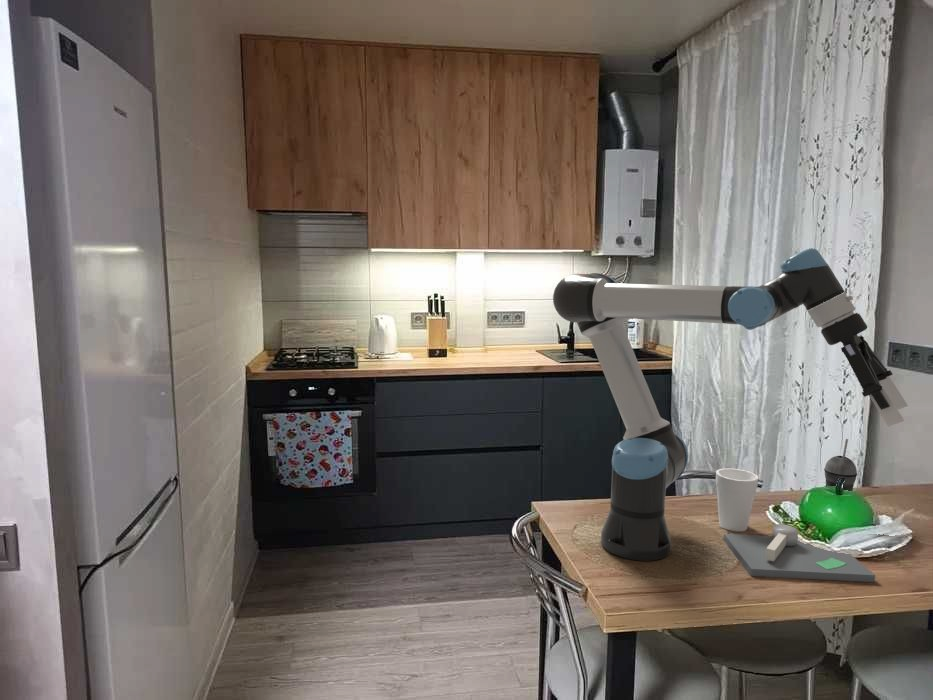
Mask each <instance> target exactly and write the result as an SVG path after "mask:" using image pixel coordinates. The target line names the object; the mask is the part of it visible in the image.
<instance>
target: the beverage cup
mask: <svg viewBox="0 0 933 700" xmlns="http://www.w3.org/2000/svg"><path fill="white" fill-rule="evenodd" d="M848 442H849V439H848V438H845V442H844V446H843V452H842V453H843V454H842V455H835V456H832V457H831V458H829V459H828V460H827V461H826V463H825V466H824V468H823V470H824V477H825V488H826V487H827V486H836V484H837V481H838V479H839V478H846V480H845V482H844V483H843V489H844V490H848V491H852V492H853V489H854V485H855V483H856V481H857V480H856V479H857V476H858V473H857V472H858V469H857V467H856V464H855V463H854V461H853V460H852V459H850V458H849V457H847V456H846V453H847V448H848Z"/></svg>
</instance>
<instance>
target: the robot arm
mask: <svg viewBox="0 0 933 700" xmlns="http://www.w3.org/2000/svg"><path fill="white" fill-rule="evenodd" d="M780 270H781V274H779V275H778V276H776V277H774V278H773V279H771V280H769V281H767V282H765V283H763V284H761V285H759V286H753V285H752V286H742V285H741V286H740V285H739V286H738V285H737V286H735V285H734V286H731V285H730V286H727V285H696V284H695V285H692V284H650V283H618V282H617V281H616V280H615V279H614V278H613V277H611V276H609V275H606V274H603V273H599V272H598V273H597V272H592V273H573V274H569V275H567V276H565V277H563V278H562V279H561V280H560V281H559V282H558V283H557V285H556V286H555V288H554V290H553V295H552V301H553V305H554V309H555V311H556V312H557V314H558V315H559V316H560V317H561V318H562V319H564V320H566V321H568V322H571V323H575V324H577V327H578V329H579V332H580V334H581V335H582V336H584V337H586V338H588V339H589V340H590V342H591V344H592V348H593V349H594V351H595V352H594V353H595V354H596V357H597V360H598V362H599V365H600V367H601V369H602V373H603V374H604V377H605V379H606V383H607V384H608V387H609V389H610V391H611V394H612V398H613V399H614V401H615V404H616V406H617V409H618V412H619V414H620V416H621V417H620V418H621V419H622V421H623V422H622V423H623V424H624V427H625V432H624V435H623V437H622V438H623V439H622V440H621V441H619V442H618V443H617V444H616V445H615V446H614V449H613V450H612V456H611V457H612V458H611V480H610V481H611V486H610V487H611V488H610V508H609V513H608V515H607V517H606V520H605V522H604V524H603V527H602V529H601V532H600V533H601V534H600V544H601V546H602V547H603V548H604V549H605V550H606V551H608V552H609V553H611V554H613V555H615V556H617V557H620V558H623V559H627V560H632V561H633V560H634V561H641V562H642V561H644V562H645V561H646V562H647V561H648V562H649V561H656V560H663V559H664V558H666V557H668V556H669V555H670V554H671V549H672V539H671V535H670V533H669V528H668V524H667V521H666V518H665V507H666V494H667V493H666V490H667V488H669V487H670V485H671V484H673V483H674V482H676V481H677V480H678V479H679V478H680V477H681V476H682V475H683V474H684V472H685V470H686V468H687V467H688V463H689V451H688V447H687V445H686V443H685V442H684V440H683V439H682V438H681V436H679V435H678V434H676V433H675V432H674V430H673V427H672V425H671V423H670V421H668V420H666V419H665V418H663V417H661V415H660V413H659V410H658V408H657V405H656V403H655V400H654V398H653V396H652V393H651V391H650V388H649V385H648V383H647V381H646V379H645V376H644V374H643V370H642V369H641V366H640V364H639V361H638V359H637V357H636V354H635V352H634V349H633V347H632V344H631V341H630V339H629V337H628V334H627V331H626V330H625V327H624V324H625V321H626V319H632V320H633V319H635V320H636V319H637V320H652V321H653V320H654V321H673V322H675V321H676V322H689V323H690V322H692V323H709V324H710V323H711V324H727V325H740V326H743V327H744V329H746V330H749V331H752V330H755V329H756V328H760V327H762V326H765V325H766V324H767V323H769V322H771V321H774V320H775V319H778V318H779V317H781V316H783V315H784V314H786V313H789V312H790V311H792V310H795V309H796V308H799V307H800V306H802V305H803V306H804V307H805V310H806V311H807V313H808V314H809V316H810V318H811V319H812V321H813V324H815V326H816V328H821V331H820V333H821V335H822V336H823V338H824V340H825V341H826V343H827V344H828V345H829V346H835V345H836V344H839V343H842V347H840V349H841V352H842V354H844V356H845V358H846V359H847V361H848V363H849V365H850V367H851V369H852V371H853V373H854V375H855V378H856V379H857V381H858V383H859V385H860V386H861V389H862V392H861V394H862V396H863V397H865V398H866V397H868V396H869V398H870V400H871V401H872V403H873V404H874V406H875V408H876V409H877V411H878V413H879V414H880V416H881V417H882V419H883V420H884V422H885V423H886V425H887V427H891V426H893V425H896V424H900V423H902V422H904V421H905V419H904V418H903V416H902V414H901V413H900V411H899V410H900V409H904V408H906V407H908V406H909V405H908V403H907V402H906V400H905V398H904V397H903V395H902V394H901V392H900V390H899V389H898V388H897V386H896V385H895V383H894V381H893V380H892V379H891V376H892V375H893V372H892V371H891V370H888V368H886V367H885V365H884V364H883V363H882V362H881V360H880V359H879V357H878V356H877V355H876V354H875V352H874V351H873V350H872V348H871V347H870V345H869V343H868V342H867V340H865V338H864V336H863V335H858V334H860V333H863V332H865V331H866V330H867V329H868V325H867V323H866V321H864V319H863V317H862V315H861V314H860V313H858V312H856V313H855V312H854V311H856V307H855V306H854V304H853V302H852V301H853V300H854V297H853V296H852V295H851V294H850V295H847V293H846V290H844V288H843V286H842V285H841V283H840V282H839V280H838V278H837V277H836V275H835V273H834V272H833V270H832V269H831V267H830V265H829V264H828V263H827V261H826V260H825V259H824V258H823V256H822V255H821V253H820V252H819V249H817V248H813V247H812V248H807V249H805V250H801V252H798V253H796V254H794V255H793V256H791V257H789V258H788V259H785V260H784V261H783V262H782V263H781V264H780Z"/></svg>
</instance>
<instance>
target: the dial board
mask: <svg viewBox="0 0 933 700" xmlns="http://www.w3.org/2000/svg"><path fill="white" fill-rule="evenodd" d="M722 540H723V541H724V543H725V544H726V546H727V548H729V549H730V551H731V550H732V551H731V552H732V553H733V555H734V556H735V557H736V558H737V560H738V561H739V562H740V564H741V565H742V566H743V568H744V569H745V571H746V572H747V573H748V574H749V575H750V577H763V576H764V578H765V577H767V578H781V579H782V578H783V579H784V578H789V579H803V580H804V579H808V580H824V581H844V582H858V583H859V582H861V583H862V582H863V583H875V582H876V581H875V579H876V574H875V573H873V572H872V570H870V569H868V568H867V567H866V566H865V565H864V564H863V563H862V562H860V561H859V560H858V559H857V558H856V557H854V556H853V555H852V554H851V553H850V554H845V553H837V552H832V551H827V550H824V549H820V548H817V547H814V546H811V545H808V544H804V543H802V542H800V541H798V540H797V544H796V545H794V546H787V545H786V546H785V547H784V548H783V550H782V551H781V553H780V554H779V555H778V557H777V558H776V559H775V561H770V560H767V559H766V548H767V547H768V546H769V544H770V543H771V542H772V541H773V540H772V535H760V534H739V533H738V534H736V533H723V539H722Z"/></svg>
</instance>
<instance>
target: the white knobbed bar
mask: <svg viewBox="0 0 933 700" xmlns="http://www.w3.org/2000/svg"><path fill="white" fill-rule="evenodd" d="M771 533H772V534H771V536H772V540H773V541H772V542H771V543H770V544H769V546H768V547H767V548H766V559H767V560H770V561H775V559H776V558H777V557H778V555H779V554H780V553H781V551H782V550H783V548H784V547H785V546H786V545H787V546H794V545H796V544H797V539H798V537H799V530H798V529H797V528H796V527H794V526H791V525H788V524H781V523H780V524H779V523H777V524H774V525H772V532H771Z"/></svg>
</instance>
